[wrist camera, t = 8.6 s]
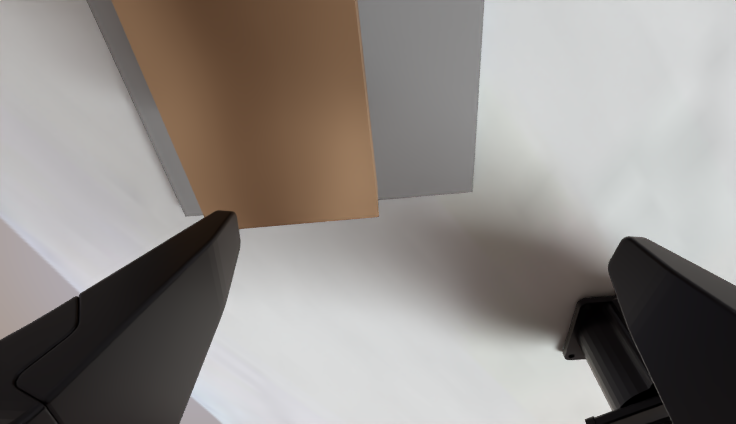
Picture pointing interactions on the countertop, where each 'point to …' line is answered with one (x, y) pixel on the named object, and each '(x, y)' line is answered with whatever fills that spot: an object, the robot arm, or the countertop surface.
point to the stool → (262, 104)
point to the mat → (373, 94)
